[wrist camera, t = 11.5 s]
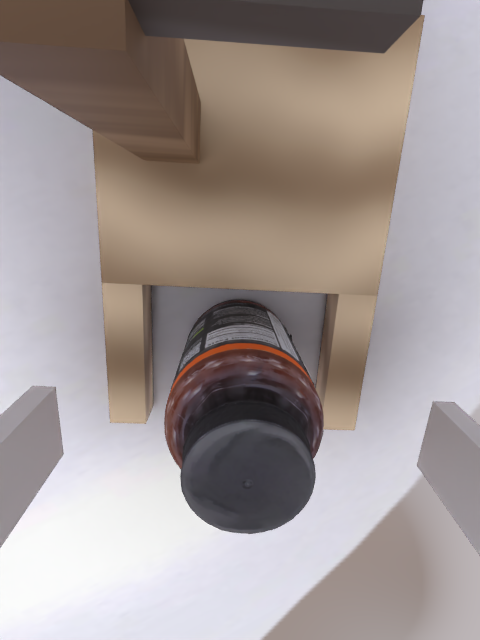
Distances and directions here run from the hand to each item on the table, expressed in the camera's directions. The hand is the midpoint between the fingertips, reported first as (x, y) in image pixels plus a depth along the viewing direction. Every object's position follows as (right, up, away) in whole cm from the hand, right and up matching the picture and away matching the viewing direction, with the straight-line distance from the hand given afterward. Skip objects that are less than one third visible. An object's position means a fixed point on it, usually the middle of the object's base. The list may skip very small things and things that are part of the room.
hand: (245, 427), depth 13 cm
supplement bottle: (0, +2, +9) cm, 9 cm away
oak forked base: (0, +8, +7) cm, 10 cm away
